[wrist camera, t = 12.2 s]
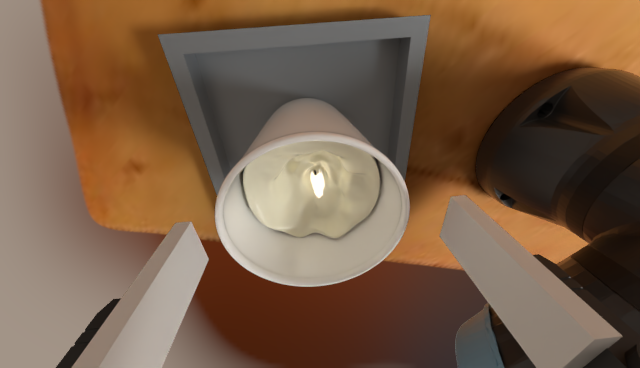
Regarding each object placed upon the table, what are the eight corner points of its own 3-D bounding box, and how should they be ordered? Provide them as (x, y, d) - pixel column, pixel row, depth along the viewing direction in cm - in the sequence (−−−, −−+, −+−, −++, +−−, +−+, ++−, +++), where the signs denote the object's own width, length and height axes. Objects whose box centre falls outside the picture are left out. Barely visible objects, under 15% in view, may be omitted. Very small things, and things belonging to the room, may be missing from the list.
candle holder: (356, 182, 25) (396, 279, 14) (264, 189, 24) (239, 294, 14) (361, 84, 19) (429, 127, 9) (245, 90, 19) (182, 143, 9)
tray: (411, 19, 18) (430, 14, 16) (389, 203, 28) (398, 219, 25) (178, 36, 17) (157, 34, 15) (238, 219, 27) (232, 237, 25)
